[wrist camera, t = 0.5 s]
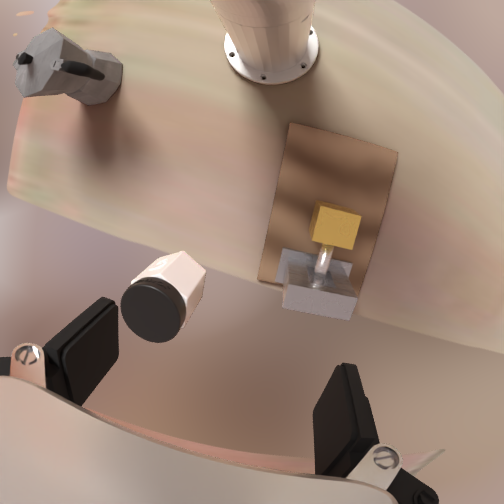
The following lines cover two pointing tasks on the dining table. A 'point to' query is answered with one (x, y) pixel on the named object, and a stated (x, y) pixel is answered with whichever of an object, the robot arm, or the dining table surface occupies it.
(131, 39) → the dining table surface
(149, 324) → the jar
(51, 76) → the coffeepot
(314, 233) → the yellow block headed rod
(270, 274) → the copper board
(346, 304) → the brushed steel socket base
